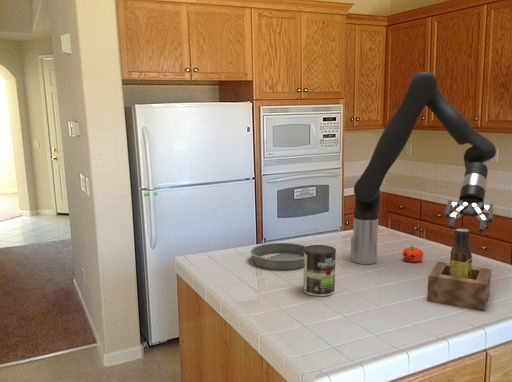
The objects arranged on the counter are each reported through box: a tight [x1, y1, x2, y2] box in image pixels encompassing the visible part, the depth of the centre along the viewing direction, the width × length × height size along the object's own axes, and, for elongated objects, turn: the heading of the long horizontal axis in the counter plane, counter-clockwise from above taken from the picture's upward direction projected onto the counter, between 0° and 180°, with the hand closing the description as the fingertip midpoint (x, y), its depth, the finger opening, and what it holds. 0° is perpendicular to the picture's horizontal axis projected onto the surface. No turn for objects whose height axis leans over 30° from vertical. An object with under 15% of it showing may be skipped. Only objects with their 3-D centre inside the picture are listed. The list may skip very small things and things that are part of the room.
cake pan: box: [250, 242, 307, 271], centre depth 184 cm, size 25×25×4 cm
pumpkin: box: [401, 244, 424, 263], centre depth 184 cm, size 7×8×6 cm
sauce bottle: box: [449, 228, 473, 279], centre depth 146 cm, size 7×6×20 cm
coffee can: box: [302, 244, 337, 297], centre depth 152 cm, size 10×10×14 cm
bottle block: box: [426, 261, 492, 312], centre depth 147 cm, size 16×16×8 cm
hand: (466, 230), depth 151 cm, fingers open, 8 cm apart
